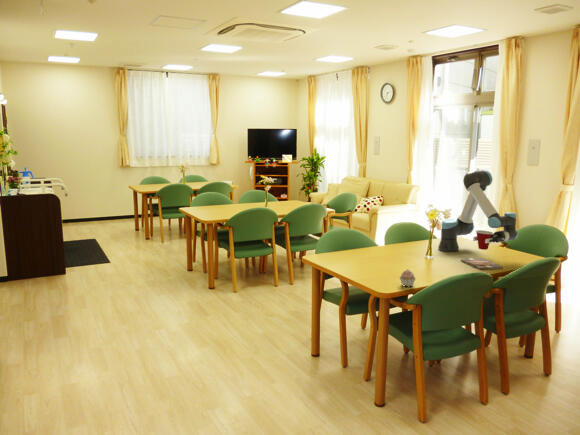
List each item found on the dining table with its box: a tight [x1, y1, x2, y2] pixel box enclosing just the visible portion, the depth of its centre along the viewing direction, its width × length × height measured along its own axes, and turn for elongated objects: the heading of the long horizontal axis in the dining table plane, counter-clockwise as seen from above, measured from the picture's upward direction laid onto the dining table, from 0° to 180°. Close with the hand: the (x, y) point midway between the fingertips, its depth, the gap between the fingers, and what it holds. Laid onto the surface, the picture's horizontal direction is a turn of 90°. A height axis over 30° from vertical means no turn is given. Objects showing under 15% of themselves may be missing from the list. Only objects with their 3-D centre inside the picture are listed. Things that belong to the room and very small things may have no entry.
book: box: [460, 257, 504, 271], centre depth 312 cm, size 24×16×2 cm, turn 10°
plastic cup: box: [475, 229, 494, 251], centre depth 309 cm, size 11×11×12 cm
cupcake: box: [399, 268, 417, 287], centre depth 268 cm, size 9×9×10 cm
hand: (479, 240), depth 306 cm, fingers closed on plastic cup, 9 cm apart
